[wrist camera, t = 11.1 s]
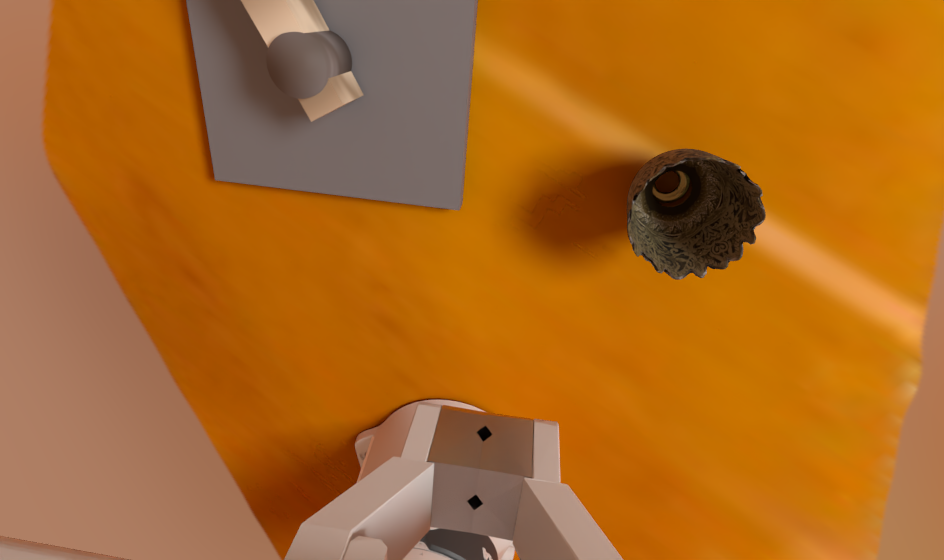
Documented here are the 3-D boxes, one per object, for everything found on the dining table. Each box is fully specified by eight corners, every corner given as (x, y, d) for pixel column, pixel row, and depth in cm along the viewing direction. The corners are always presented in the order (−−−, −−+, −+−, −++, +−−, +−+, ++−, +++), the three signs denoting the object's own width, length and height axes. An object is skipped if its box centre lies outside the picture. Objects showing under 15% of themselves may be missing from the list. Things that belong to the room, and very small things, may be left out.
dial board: (462, 203, 39) (458, 211, 38) (222, 173, 41) (209, 180, 39) (493, -215, 28) (490, -227, 27) (159, -235, 30) (138, -247, 28)
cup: (591, 182, 37) (601, 223, 30) (675, 104, 34) (708, 130, 27) (659, 248, 39) (683, 301, 32) (745, 180, 36) (792, 222, 29)
